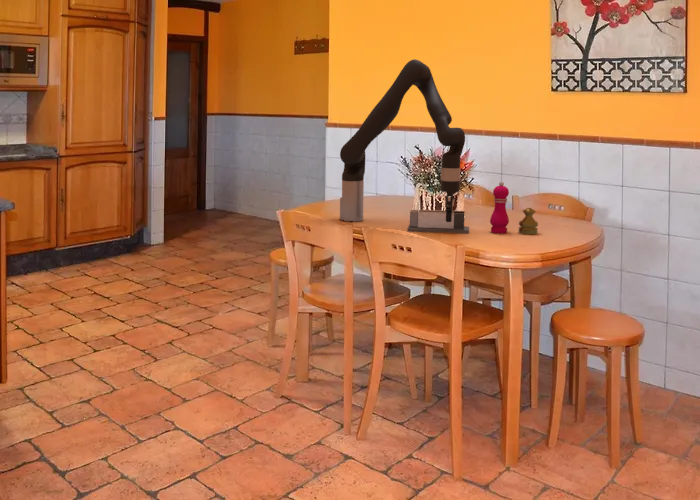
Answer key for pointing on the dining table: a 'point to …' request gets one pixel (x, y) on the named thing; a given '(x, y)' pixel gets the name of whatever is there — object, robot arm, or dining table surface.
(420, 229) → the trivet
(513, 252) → the dining table surface
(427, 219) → the block
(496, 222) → the pepper mill
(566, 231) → the dining table surface
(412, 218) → the block
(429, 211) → the jaw
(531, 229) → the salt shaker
